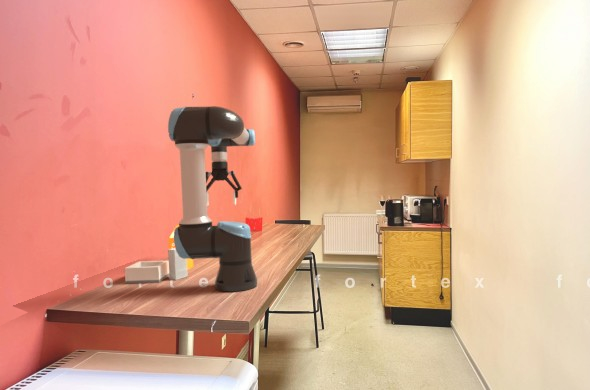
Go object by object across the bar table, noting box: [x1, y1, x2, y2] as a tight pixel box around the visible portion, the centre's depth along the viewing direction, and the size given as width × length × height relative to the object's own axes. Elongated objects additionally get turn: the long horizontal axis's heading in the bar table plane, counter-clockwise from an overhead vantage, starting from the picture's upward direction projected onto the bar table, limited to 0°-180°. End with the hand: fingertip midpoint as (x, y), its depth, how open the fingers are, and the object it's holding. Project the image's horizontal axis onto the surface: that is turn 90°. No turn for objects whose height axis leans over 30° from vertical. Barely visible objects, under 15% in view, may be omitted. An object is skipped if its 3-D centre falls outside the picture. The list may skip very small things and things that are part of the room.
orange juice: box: [168, 224, 194, 271], centre depth 174 cm, size 8×9×20 cm
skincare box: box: [167, 248, 189, 281], centre depth 156 cm, size 6×4×12 cm
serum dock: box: [124, 260, 169, 284], centre depth 156 cm, size 13×13×6 cm
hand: (221, 205), depth 187 cm, fingers open, 13 cm apart
